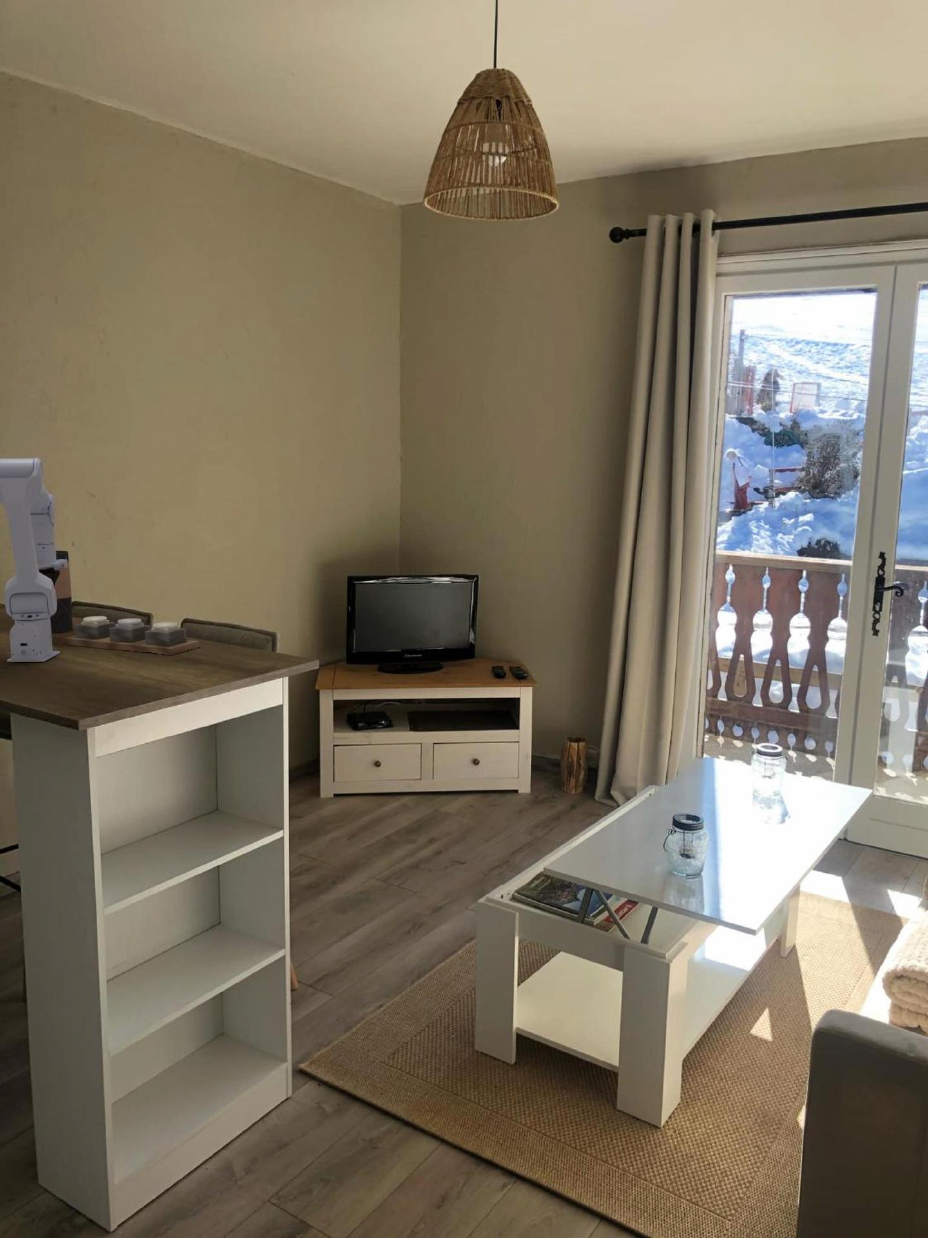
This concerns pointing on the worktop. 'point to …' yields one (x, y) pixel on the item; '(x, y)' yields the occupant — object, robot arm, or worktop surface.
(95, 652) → the worktop surface
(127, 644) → the knob backing plate
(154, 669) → the worktop surface
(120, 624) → the knob
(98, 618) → the knob
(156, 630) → the knob
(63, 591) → the travel mug
